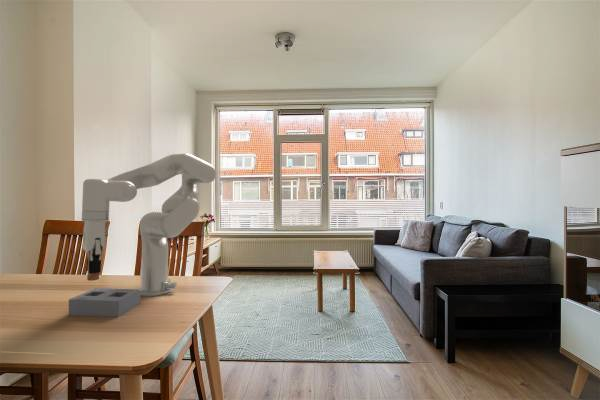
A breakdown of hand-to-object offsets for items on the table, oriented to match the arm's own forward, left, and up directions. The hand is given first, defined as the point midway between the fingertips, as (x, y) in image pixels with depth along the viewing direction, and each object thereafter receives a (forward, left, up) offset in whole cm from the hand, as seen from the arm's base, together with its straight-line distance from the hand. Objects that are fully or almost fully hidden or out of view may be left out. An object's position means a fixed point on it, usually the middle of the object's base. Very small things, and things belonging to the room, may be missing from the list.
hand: (93, 271), depth 100 cm
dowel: (0, 0, -3) cm, 3 cm away
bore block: (-4, 0, -13) cm, 13 cm away
